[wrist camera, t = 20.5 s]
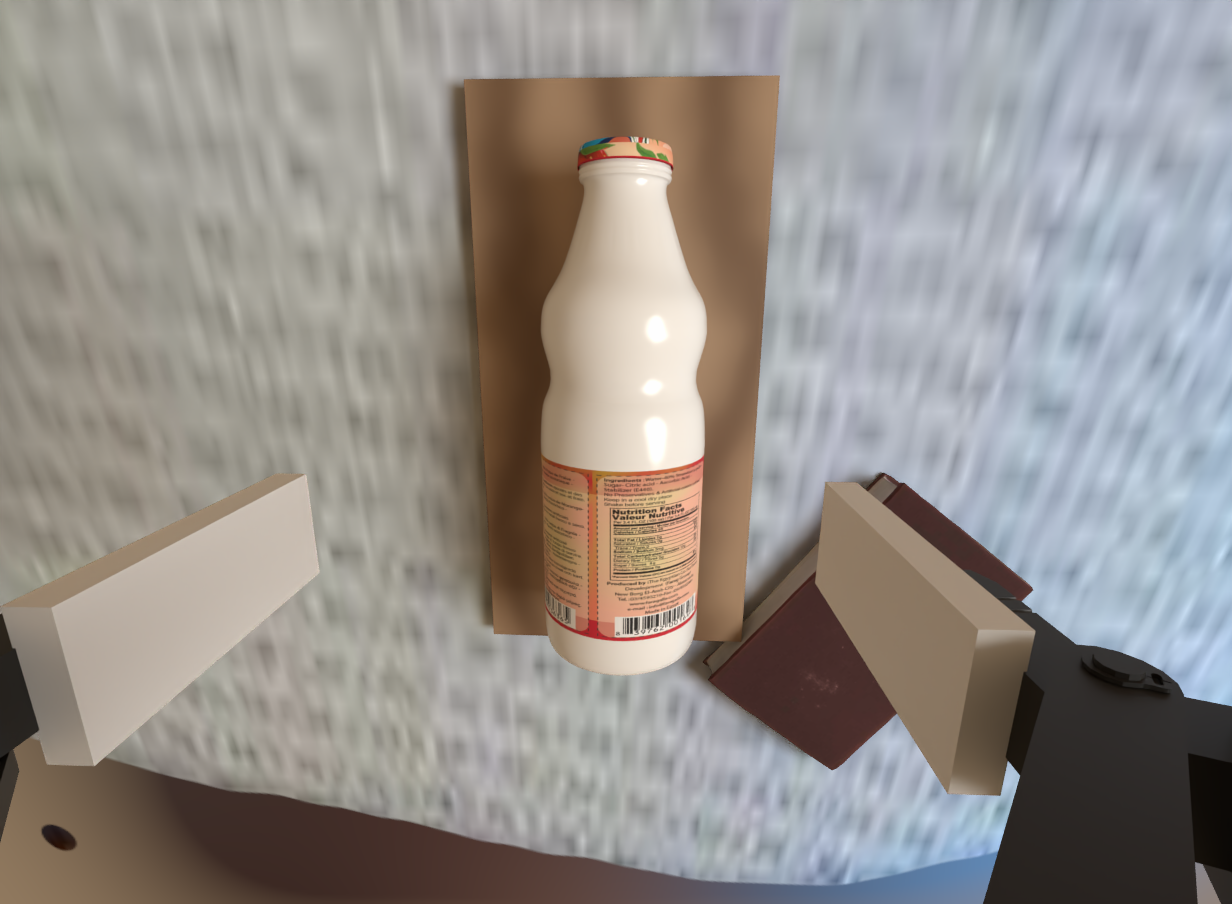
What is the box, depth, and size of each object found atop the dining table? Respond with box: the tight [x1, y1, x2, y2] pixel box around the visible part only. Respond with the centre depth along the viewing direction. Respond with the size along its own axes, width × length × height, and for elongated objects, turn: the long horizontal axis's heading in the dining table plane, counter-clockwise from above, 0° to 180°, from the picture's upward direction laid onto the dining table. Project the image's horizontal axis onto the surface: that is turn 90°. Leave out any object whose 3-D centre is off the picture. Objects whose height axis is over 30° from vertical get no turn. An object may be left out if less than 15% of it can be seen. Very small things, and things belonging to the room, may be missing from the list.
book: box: [703, 473, 1033, 770], centre depth 41 cm, size 12×19×3 cm, turn 142°
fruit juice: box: [541, 136, 707, 675], centre depth 33 cm, size 9×9×28 cm
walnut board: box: [464, 76, 780, 642], centre depth 38 cm, size 18×36×1 cm, turn 0°
